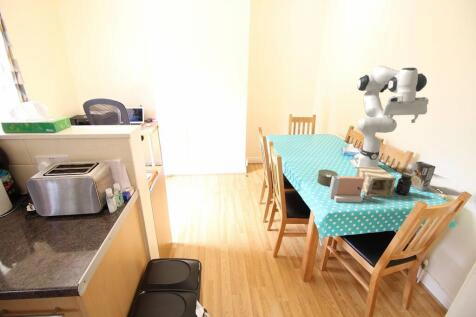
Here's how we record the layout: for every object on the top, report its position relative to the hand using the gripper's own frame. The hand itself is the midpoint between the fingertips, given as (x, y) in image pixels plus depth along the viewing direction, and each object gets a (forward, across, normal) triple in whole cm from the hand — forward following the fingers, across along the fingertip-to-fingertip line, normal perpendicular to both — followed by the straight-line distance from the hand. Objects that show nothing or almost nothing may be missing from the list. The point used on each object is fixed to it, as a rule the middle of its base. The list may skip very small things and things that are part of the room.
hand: (402, 122), depth 131 cm
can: (+38, +40, +7) cm, 55 cm away
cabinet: (+41, +14, +7) cm, 44 cm away
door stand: (+40, +28, +22) cm, 54 cm away
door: (+40, +28, +23) cm, 55 cm away
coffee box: (+43, -14, -13) cm, 47 cm away
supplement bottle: (+43, -3, +1) cm, 43 cm away
